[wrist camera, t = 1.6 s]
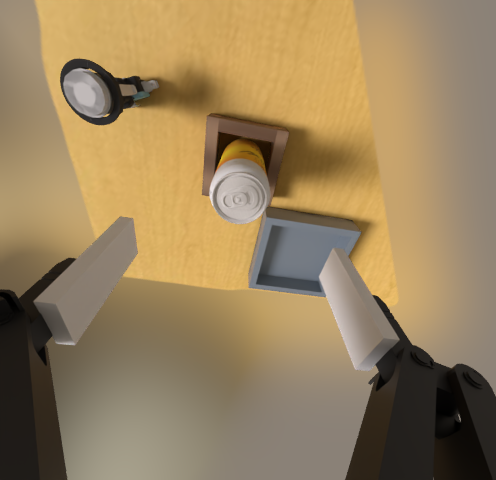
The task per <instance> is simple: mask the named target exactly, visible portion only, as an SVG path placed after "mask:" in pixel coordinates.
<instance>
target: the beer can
mask: <svg viewBox="0 0 496 480" xmlns="http://www.w3.org/2000/svg"><path fill="white" fill-rule="evenodd" d="M209 194H210V200H211V203H212V205H213V207H214V209H215V210H216V212H217V213H218V214H219V215H220V216H221V217H222V218H223V219H224V220H226V221H228V222H231V223H235V224H246V223H249V222H252V221H254V220H256V219H257V218H258V217H260V216H261V214H262V213H263V212H264V211H265V210H266V208H267V206H268V204H269V201H270V186H269V182H268V178H267V173H266V169H265V165H264V160H263V156H262V152H261V150H260V148H259V147H258V146H257V145H256V144H255V143H254V142H252V141H250V140H247V139H237V140H234V141H232V142H231V143H230V144H228V145H227V147H226V148H225V150H224V152H223V154H222V157H221V160H220V162H219V165H218V167H217V170H216V172H215V175H214V177H213V180H212V182H211V185H210V191H209Z"/></svg>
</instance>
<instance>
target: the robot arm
mask: <svg viewBox="0 0 496 480" xmlns="http://www.w3.org/2000/svg"><path fill="white" fill-rule="evenodd" d="M137 254H138V251H137V244H136V236H135V228H134V221H133V218H127V217H119V218H118V219H117V220H116V221H115V222H114V223H113V224H112V225H111V226H110V227H109V228H108V229H107V230H106V231H105V232H104V233H103V234H102V235H101V236H100V237H99V238H98V239H97V240H96V241H95V242H94V243H93V244H92V245H91V246H90V247H89V248H87V249H86V250H85V252H83V253H82V254H81V255H80V256H79V257H78V258H77V259H75V258H68V259H66V260H64V261H62V262H60V263H58V264H56V265H55V266H54V267H53V268H52V269H51V270H50V271H49V272H48V273H47V274H45V275H44V276H43V277H42V279H41V280H39V281H38V282H36V283H35V284H34V285H33V286H32V287H31V288H30V289H29V290H27V291H26V292H25V293H24V294H23V295H22V296H21V297H20V298H19V299H18V297H17V296H16V294H15V292H13V291H11V290H0V480H67V475H66V467H65V461H64V454H63V447H62V441H61V434H60V427H59V421H58V415H57V407H56V401H55V394H54V387H53V380H52V374H51V368H50V361H49V355H48V348H47V346H46V343H47V341H48V340H49V339H50V338H51V337H52V336H53V338H54V340H55V342H56V343H57V344H68V345H76V343H77V341H78V340H79V339H80V337H81V336H82V334H83V333H84V331H85V330H86V328H87V327H88V325H89V324H90V323H91V321H92V320H93V318H94V317H95V315H96V314H97V312H98V311H99V309H100V307H101V306H102V305H103V303H104V302H105V301H106V299H107V297H108V296H109V295H110V293H111V292H112V290H113V289H114V287H115V286H116V284H117V283H118V281H119V280H120V279H121V277H122V276H123V274H124V273H125V271H126V270H127V268H128V267H129V265H130V264H131V262H132V261H133V259H134V258H135V257H136V255H137ZM319 279H320V281H321V284H322V286H323V289H324V291H325V294H326V297H327V299H328V302H329V304H330V307H331V309H332V311H333V314H334V317H335V319H336V322H337V325H338V327H339V330H340V332H341V335H342V337H343V340H344V342H345V345H346V347H347V350H348V353H349V355H350V358H351V360H352V363H353V365H354V368H355V370H365V371H370V370H371V369H372V367H374V366H375V365H376V366H377V368H378V371H379V372H378V373H377V374H376V375H375V376H374V377H373V378H372V379H371V380H370V381H369V384H370V385H371V384H372V383H373V382H374V383H373V387H372V390H371V394H370V397H369V401H368V404H367V407H366V411H365V414H364V418H363V421H362V424H361V428H360V431H359V435H358V438H357V441H356V445H355V448H354V452H353V455H352V459H351V462H350V465H349V469H348V472H347V476H346V479H345V480H433V478H434V480H496V396H495V394H494V392H493V390H492V388H491V386H490V385H489V383H488V382H487V380H485V378H484V377H483V376H482V375H481V374H480V373H478V372H477V371H476V370H474V369H472V368H471V367H469V366H467V365H464V364H456V365H455V366H454V367H453V368H449V367H446V366H443V365H441V364H438V363H436V362H434V360H433V359H432V358H431V357H430V355H429V354H428V353H426V352H425V351H424V350H423V349H421V348H419V347H417V346H414V345H412V344H411V342H410V341H409V339H408V338H407V336H406V335H405V333H404V332H403V330H402V329H401V327H400V325H399V324H398V322H397V321H396V320H395V319H394V316H393V315H392V313H390V310H389V309H388V307H387V306H386V304H385V303H384V302H383V301H382V300H381V299H380V298H379V297H378V296H375V295H372V294H371V292H370V291H369V289H368V288H367V286H366V284H365V283H364V281H363V280H362V278H361V276H360V275H359V273H358V271H357V270H356V268H355V267H354V265H353V263H352V262H351V260H350V259H349V257H348V255H347V254H346V252H345V251H344V249H340V248H333V249H332V251H331V253H330V255H329V257H328V259H327V261H326V263H325V265H324V267H323V269H322V271H321V273H320V275H319ZM458 414H459V415H460V418H461V422H460V420H459V417H458Z"/></svg>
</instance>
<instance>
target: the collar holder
mask: <svg viewBox="0 0 496 480" xmlns="http://www.w3.org/2000/svg"><path fill="white" fill-rule="evenodd" d="M220 132H223V133H228V134H233V135H238V136H244V137H249V138H254V139H259V140H264V141H270V142H271V147H270V151H269V156H268V160H267V165H266V173H267V178H268V182H269V186H270V201H269V204H268V206H270V205H271V201H272V197H273V194H274V190H275V186H276V182H277V178H278V174H279V170H280V166H281V162H282V158H283V154H284V151H285V147H286V143H287V139H288V135H289V132H288V131H287V130H286V129H285V128H281V127H276V126H271V125H266V124H261V123H256V122H251V121H246V120H241V119H236V118H231V117H226V116H221V115H216V114H209V115H208V116H207V122H206V138H205V154H204V171H203V187H202V195H205V196H210V194H209V191H210V185H211V182H212V180H213V177H214V175H215V172H216V170H217V161H218V150H219V140H220Z"/></svg>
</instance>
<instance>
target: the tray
mask: <svg viewBox="0 0 496 480" xmlns="http://www.w3.org/2000/svg"><path fill="white" fill-rule="evenodd" d="M360 234H361V231H360V230H359V228H358V227H357V226H356V225H355V223H354V222H353V221H352V220H347V219H341V218H335V217H329V216H322V215H316V214H310V213H304V212H298V211H292V210H285V209H279V208H273V207H267V208H266V210H265V211H264V212H263V216H262V220H261V224H260V228H259V232H258V237H257V241H256V245H255V249H254V253H253V257H252V262H251V266H250V270H249V288H254V289H262V290H270V291H278V292H286V293H295V294H303V295H311V296H319V297H326V294H325V291H324V289H323V286H322V284H321V281H320V279H319V275H320V273H321V271H322V269H323V267H324V265H325V263H326V261H327V259H328V257H329V255H330V253H331V251H332V249H333V248H340V249H344V251H345V252H346V254H347V255H348V256H349V254H350V252H351V250H352V249H353V247H354V245H355V243H356V241H357V239H358V238H359V236H360Z"/></svg>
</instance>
